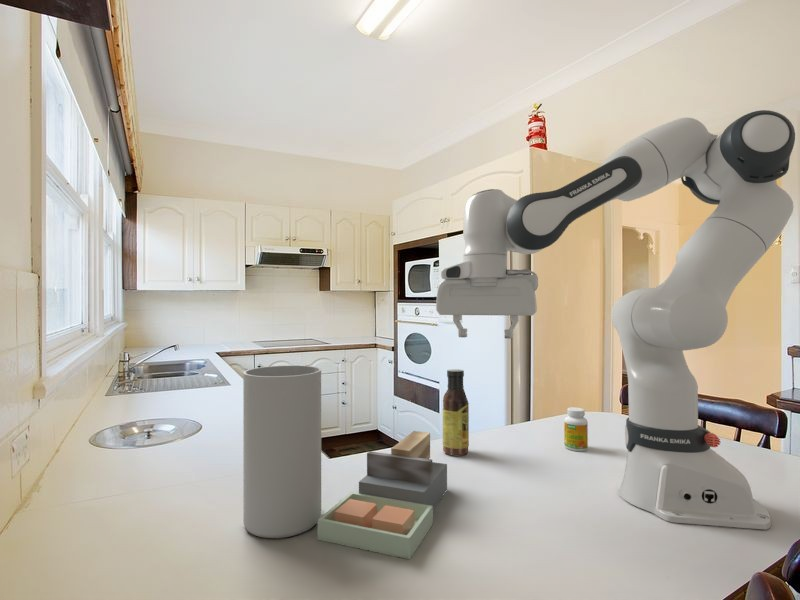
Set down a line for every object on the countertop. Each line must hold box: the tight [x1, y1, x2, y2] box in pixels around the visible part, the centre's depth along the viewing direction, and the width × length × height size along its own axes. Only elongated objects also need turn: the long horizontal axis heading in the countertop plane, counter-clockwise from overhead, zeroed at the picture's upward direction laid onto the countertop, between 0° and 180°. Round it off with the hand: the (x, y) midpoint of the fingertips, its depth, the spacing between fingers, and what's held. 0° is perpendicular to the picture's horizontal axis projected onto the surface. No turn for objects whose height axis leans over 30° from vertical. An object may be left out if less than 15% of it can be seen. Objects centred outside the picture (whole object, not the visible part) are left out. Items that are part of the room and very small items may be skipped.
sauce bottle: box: [442, 368, 470, 456], centre depth 110 cm, size 7×6×20 cm
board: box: [358, 461, 448, 510], centre depth 84 cm, size 12×14×5 cm
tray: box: [317, 491, 434, 560], centre depth 72 cm, size 15×11×3 cm
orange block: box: [335, 499, 377, 528], centre depth 73 cm, size 5×5×3 cm
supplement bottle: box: [563, 406, 589, 452], centre depth 113 cm, size 5×5×10 cm
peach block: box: [372, 505, 414, 535], centre depth 71 cm, size 5×5×3 cm
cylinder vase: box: [242, 365, 322, 539], centre depth 76 cm, size 12×12×25 cm
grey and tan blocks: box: [366, 430, 433, 485], centre depth 86 cm, size 12×13×5 cm
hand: (485, 337), depth 94 cm, fingers open, 8 cm apart
